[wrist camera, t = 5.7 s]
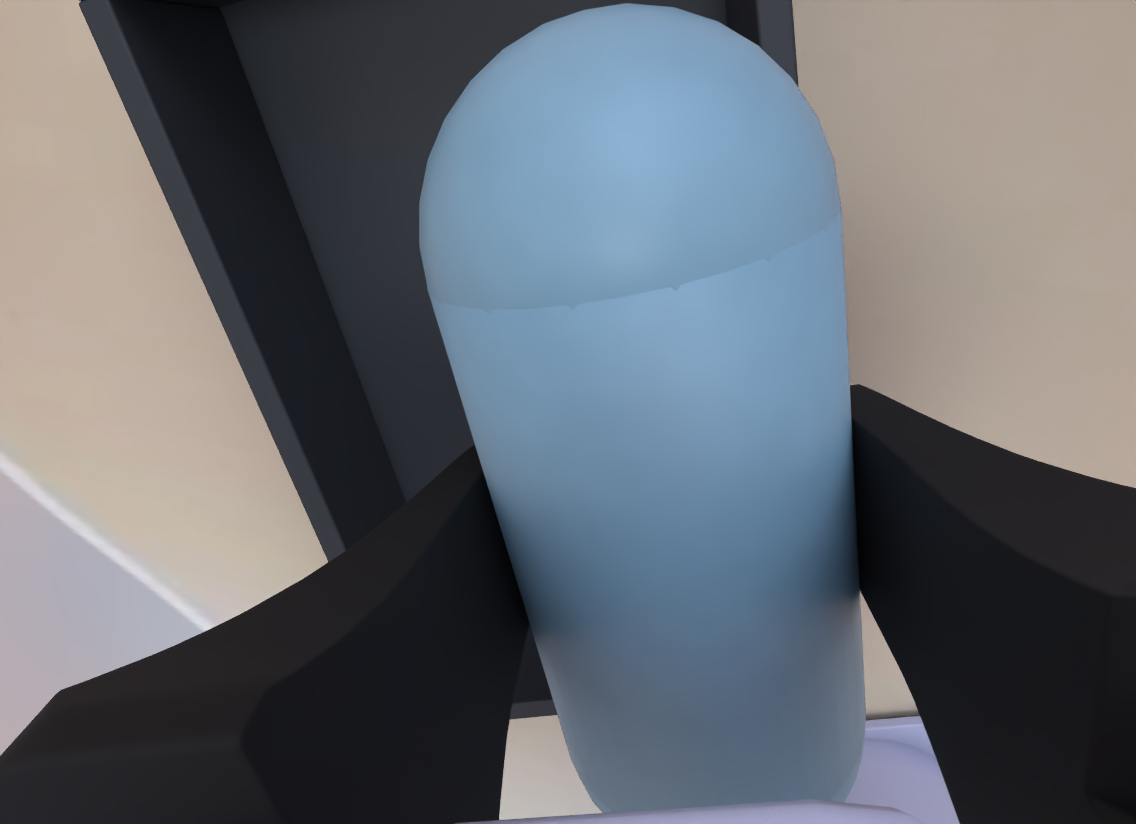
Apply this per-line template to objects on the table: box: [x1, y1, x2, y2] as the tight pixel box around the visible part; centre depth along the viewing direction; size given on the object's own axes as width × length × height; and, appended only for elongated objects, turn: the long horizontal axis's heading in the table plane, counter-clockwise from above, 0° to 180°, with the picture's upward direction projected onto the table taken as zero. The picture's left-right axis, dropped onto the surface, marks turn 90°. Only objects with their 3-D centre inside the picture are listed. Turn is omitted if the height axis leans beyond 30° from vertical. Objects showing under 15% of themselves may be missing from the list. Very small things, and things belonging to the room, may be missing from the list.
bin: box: [79, 0, 798, 719], centre depth 17 cm, size 19×12×4 cm, turn 13°
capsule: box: [419, 3, 866, 813], centre depth 10 cm, size 13×5×5 cm, turn 12°
